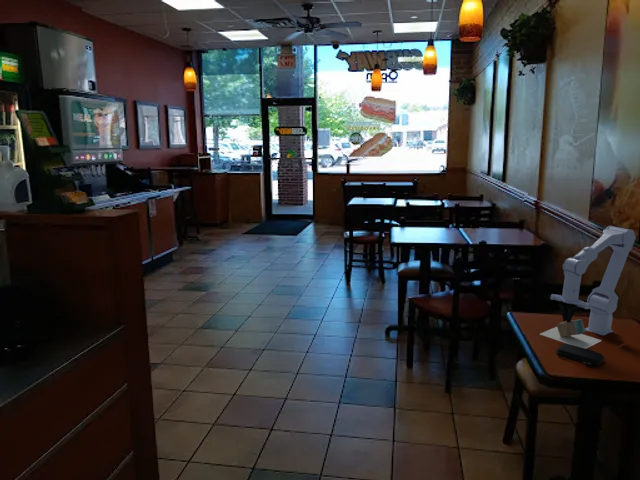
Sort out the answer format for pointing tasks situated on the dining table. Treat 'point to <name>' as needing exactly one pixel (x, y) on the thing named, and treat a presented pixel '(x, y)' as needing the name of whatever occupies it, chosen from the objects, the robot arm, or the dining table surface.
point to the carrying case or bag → (580, 354)
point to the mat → (572, 338)
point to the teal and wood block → (571, 328)
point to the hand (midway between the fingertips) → (566, 321)
